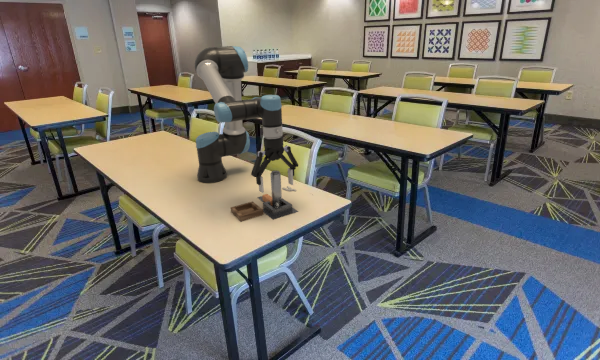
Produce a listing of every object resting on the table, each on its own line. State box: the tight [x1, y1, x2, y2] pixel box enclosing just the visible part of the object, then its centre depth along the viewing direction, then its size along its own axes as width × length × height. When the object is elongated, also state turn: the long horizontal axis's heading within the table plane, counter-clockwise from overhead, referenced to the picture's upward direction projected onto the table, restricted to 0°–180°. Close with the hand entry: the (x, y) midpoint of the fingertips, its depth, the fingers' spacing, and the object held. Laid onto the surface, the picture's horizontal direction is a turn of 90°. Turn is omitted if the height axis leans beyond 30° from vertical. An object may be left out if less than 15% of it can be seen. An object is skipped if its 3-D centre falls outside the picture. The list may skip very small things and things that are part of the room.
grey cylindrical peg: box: [269, 170, 283, 208], centre depth 145 cm, size 4×4×17 cm
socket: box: [256, 195, 299, 221], centre depth 152 cm, size 23×12×3 cm, turn 32°
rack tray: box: [230, 200, 265, 222], centre depth 145 cm, size 10×10×3 cm
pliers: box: [281, 186, 314, 196], centre depth 164 cm, size 10×2×15 cm
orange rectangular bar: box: [261, 193, 273, 206], centre depth 154 cm, size 8×2×2 cm, turn 32°
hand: (276, 187), depth 144 cm, fingers open, 13 cm apart
